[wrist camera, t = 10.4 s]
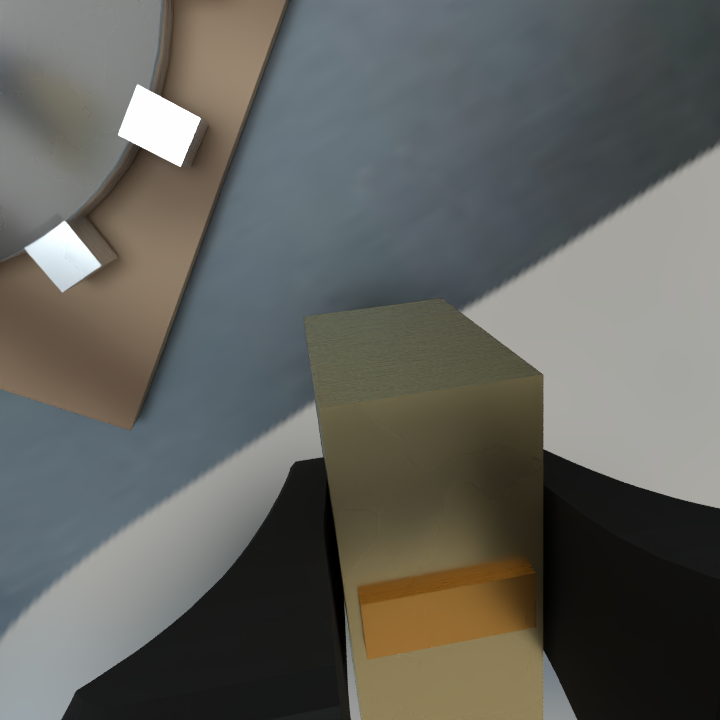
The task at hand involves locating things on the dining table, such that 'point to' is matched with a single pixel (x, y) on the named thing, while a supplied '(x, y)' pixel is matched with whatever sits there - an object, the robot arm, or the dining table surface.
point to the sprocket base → (140, 232)
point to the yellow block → (434, 510)
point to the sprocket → (80, 121)
